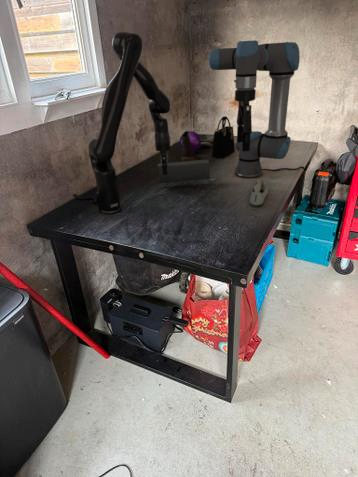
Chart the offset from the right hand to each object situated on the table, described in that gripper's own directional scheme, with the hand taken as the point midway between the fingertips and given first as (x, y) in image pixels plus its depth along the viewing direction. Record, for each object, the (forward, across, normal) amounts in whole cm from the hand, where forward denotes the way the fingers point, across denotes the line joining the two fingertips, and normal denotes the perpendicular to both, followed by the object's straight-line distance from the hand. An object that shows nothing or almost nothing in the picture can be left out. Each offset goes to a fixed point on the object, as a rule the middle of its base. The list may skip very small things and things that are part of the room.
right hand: (242, 146), depth 133 cm
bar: (+25, -35, -24) cm, 50 cm away
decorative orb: (+29, -99, -20) cm, 105 cm away
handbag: (+29, -91, +3) cm, 95 cm away
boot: (+29, -76, -20) cm, 84 cm away
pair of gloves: (+29, -123, -4) cm, 126 cm away
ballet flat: (+29, -15, +11) cm, 35 cm away
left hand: (+21, -34, -34) cm, 53 cm away
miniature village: (+29, -108, +29) cm, 116 cm away
